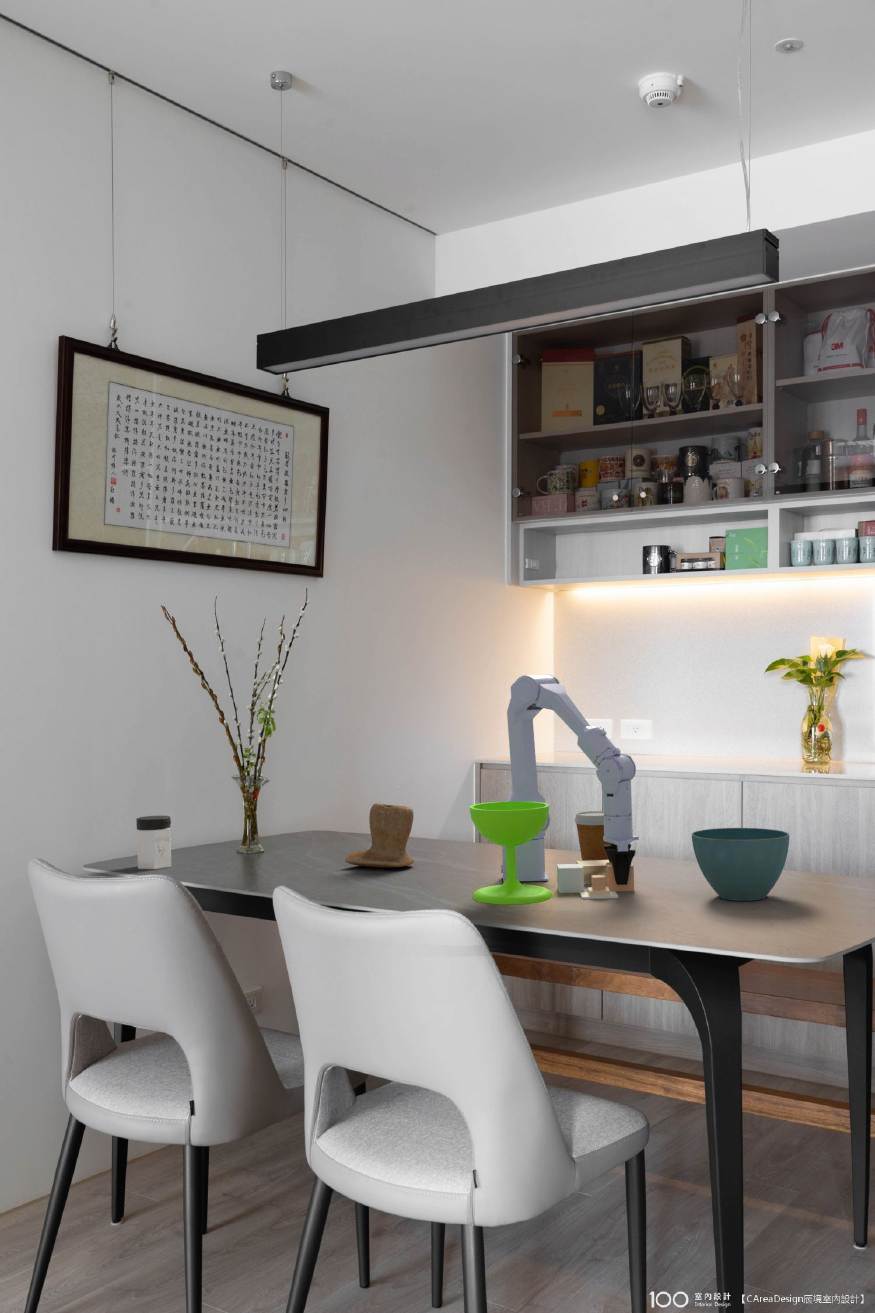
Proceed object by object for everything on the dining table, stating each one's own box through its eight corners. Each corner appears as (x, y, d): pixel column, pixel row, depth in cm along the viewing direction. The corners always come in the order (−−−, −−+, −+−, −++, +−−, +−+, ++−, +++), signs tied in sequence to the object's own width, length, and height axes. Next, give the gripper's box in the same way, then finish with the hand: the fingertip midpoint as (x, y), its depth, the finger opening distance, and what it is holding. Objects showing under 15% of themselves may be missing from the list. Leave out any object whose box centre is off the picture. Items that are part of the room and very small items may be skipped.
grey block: (559, 893, 230) (558, 868, 230) (557, 888, 235) (556, 864, 235) (584, 892, 229) (583, 867, 229) (582, 888, 234) (581, 863, 234)
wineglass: (503, 886, 239) (500, 800, 239) (568, 893, 229) (565, 803, 229) (455, 899, 226) (452, 808, 227) (521, 907, 216) (518, 812, 216)
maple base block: (581, 885, 238) (580, 866, 238) (576, 879, 245) (576, 861, 245) (615, 884, 238) (614, 865, 238) (609, 878, 245) (608, 859, 245)
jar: (146, 871, 273) (145, 820, 273) (129, 867, 279) (128, 818, 279) (179, 865, 279) (178, 816, 279) (162, 862, 285) (161, 814, 285)
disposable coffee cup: (605, 871, 253) (603, 816, 253) (567, 868, 259) (566, 814, 259) (625, 864, 260) (623, 812, 261) (588, 861, 266) (587, 810, 266)
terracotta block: (609, 891, 229) (608, 866, 229) (606, 887, 234) (605, 862, 234) (634, 891, 229) (633, 866, 229) (631, 886, 234) (630, 862, 234)
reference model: (582, 899, 222) (581, 879, 222) (580, 894, 227) (579, 874, 227) (618, 898, 222) (617, 878, 222) (615, 893, 227) (614, 873, 227)
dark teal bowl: (675, 893, 225) (673, 831, 225) (752, 885, 231) (750, 824, 232) (730, 910, 208) (727, 842, 208) (812, 900, 214) (809, 835, 215)
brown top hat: (425, 864, 270) (423, 800, 270) (399, 872, 260) (396, 806, 260) (371, 861, 277) (369, 799, 278) (343, 869, 267) (341, 804, 267)
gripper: (642, 818, 224) (645, 888, 224) (633, 810, 239) (635, 875, 239) (606, 819, 225) (608, 889, 224) (599, 811, 239) (601, 876, 239)
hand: (620, 882), depth 232 cm, fingers closed on terracotta block, 5 cm apart
